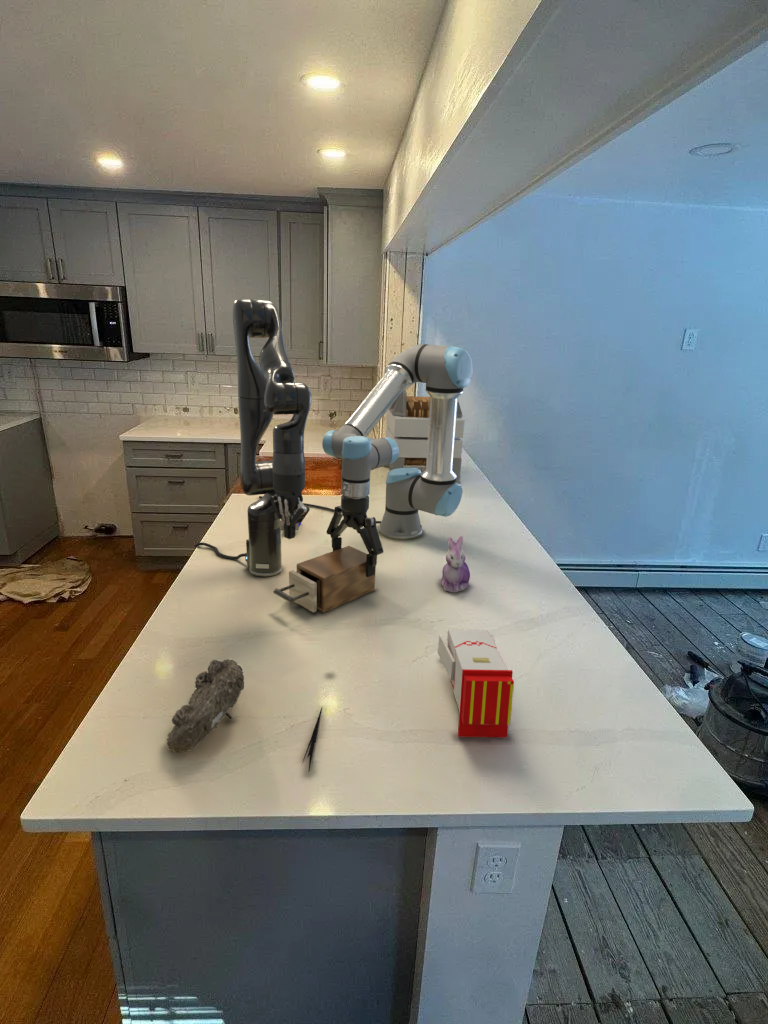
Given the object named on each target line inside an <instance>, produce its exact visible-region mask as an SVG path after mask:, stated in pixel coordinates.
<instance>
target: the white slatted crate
mask: <svg viewBox="0 0 768 1024" xmlns="http://www.w3.org/2000/svg"><path fill="white" fill-rule="evenodd" d="M407 394H408V393H407V389H406V390H403V391H402V392H401V394H400V395H399V396H398V398H397V399H396V400H395V401H394V403H393V404H392V405H391V406H390V408H389V409H388V410H387V412H386V413H385V414H386V415H385V423H386V428H385V438H391V439H393V440H394V441H395V442H396V443H397V445H398V447H399V456H398V458H397V460H396V461H395V462H393V463H391V464H389V465H388V466H386V467H388V468H389V471H391V470H394V469H398V468H405V466H406V467H407V466H411V467H412V466H413V467H415V466H416V467H417V466H418V467H426V461H427V443H428V426H429V408H430V396H415V395H414V396H413V395H412V396H411V395H407ZM464 429H465V419H464V418H463V411H462V408H461V405H460V402H459V400H458V401H457V414H456V428H455V441H454V454H453V468H452V471H453V472H454V473H455V474H456V483H461V472H462V461H463V460H462V453H463V442H464V441H463V440H462V439H463V438H464V431H465V430H464Z"/></svg>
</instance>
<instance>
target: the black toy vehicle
mask: <svg viewBox="0 0 768 1024" xmlns="http://www.w3.org/2000/svg"><path fill="white" fill-rule="evenodd" d="M301 525H302V522H301V523H298V524H296V531H298V530H299V527H300V526H301ZM281 531H284V523H283V522H282V519H281Z"/></svg>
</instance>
